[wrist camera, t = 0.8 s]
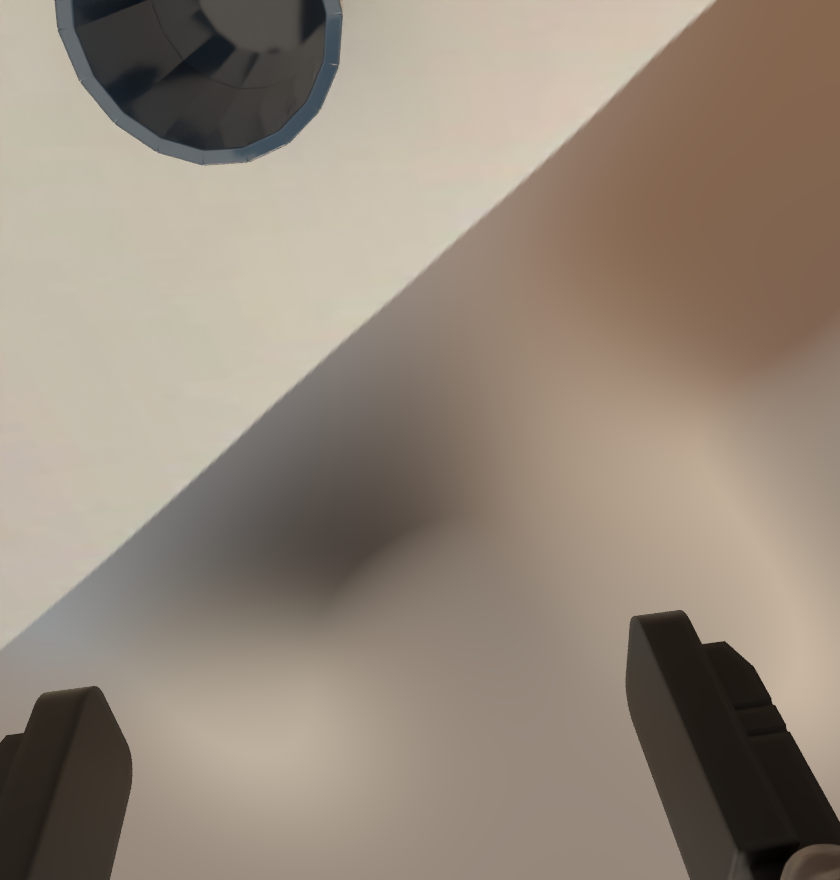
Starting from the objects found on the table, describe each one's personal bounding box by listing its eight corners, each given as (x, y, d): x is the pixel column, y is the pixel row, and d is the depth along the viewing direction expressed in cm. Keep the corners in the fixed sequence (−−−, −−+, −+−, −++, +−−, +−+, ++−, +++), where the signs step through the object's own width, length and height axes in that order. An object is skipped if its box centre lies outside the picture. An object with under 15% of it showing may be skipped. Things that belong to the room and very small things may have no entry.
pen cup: (99, -71, 32) (-12, -68, 22) (285, -169, 31) (259, -213, 21) (206, 128, 36) (155, 206, 26) (373, 48, 35) (386, 99, 25)
